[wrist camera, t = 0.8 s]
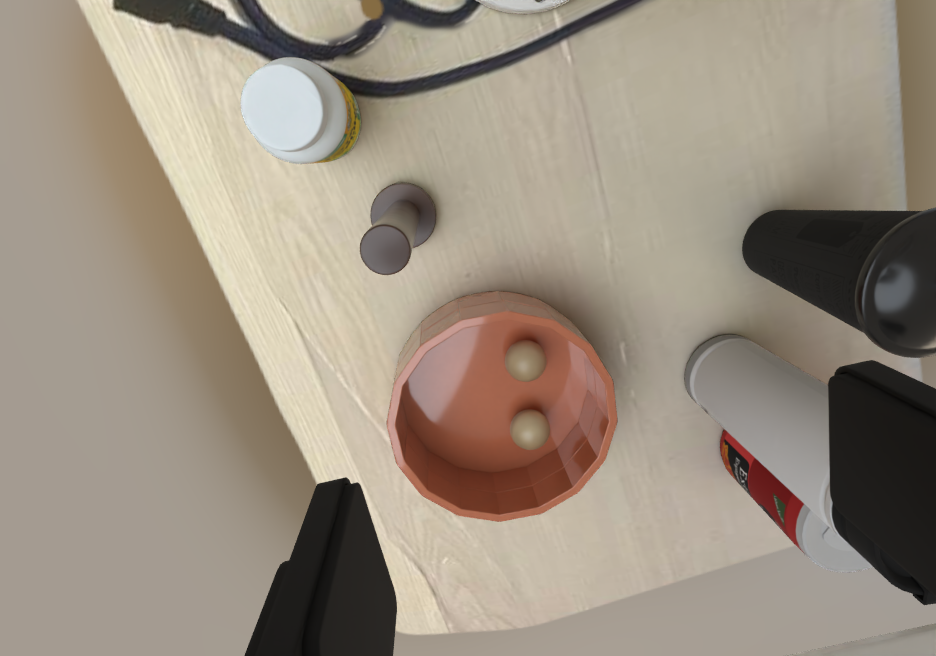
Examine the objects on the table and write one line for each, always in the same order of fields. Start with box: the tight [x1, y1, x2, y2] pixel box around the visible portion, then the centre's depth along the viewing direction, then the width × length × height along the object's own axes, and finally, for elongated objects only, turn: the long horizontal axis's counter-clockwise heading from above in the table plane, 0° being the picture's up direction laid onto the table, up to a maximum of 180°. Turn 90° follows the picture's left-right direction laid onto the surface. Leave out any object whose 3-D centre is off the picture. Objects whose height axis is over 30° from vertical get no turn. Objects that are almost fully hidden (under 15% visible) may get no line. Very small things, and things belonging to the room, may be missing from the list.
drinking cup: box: [742, 208, 936, 358], centre depth 30 cm, size 8×8×20 cm
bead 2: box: [510, 409, 550, 450], centre depth 41 cm, size 3×3×3 cm
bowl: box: [387, 291, 617, 522], centre depth 39 cm, size 15×15×6 cm
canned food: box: [720, 429, 873, 572], centre depth 40 cm, size 8×8×11 cm
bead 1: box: [505, 340, 547, 382], centre depth 39 cm, size 3×3×3 cm
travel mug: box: [684, 335, 936, 605], centre depth 33 cm, size 6×7×20 cm
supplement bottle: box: [241, 57, 361, 164], centre depth 31 cm, size 5×5×10 cm
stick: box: [360, 183, 436, 275], centre depth 31 cm, size 4×4×15 cm
